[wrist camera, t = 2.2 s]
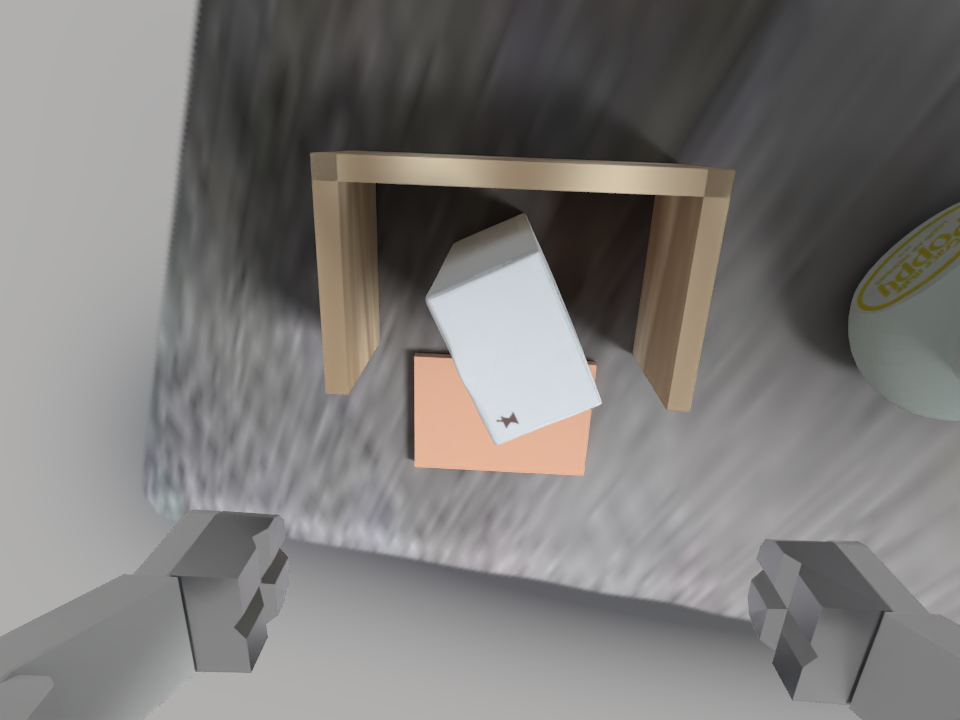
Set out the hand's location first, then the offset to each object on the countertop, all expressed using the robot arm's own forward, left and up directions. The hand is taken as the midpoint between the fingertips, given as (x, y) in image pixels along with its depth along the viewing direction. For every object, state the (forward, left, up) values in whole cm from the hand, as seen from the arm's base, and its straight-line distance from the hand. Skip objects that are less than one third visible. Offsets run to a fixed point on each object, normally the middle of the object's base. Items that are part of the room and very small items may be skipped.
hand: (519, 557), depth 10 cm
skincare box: (0, 0, -22) cm, 22 cm away
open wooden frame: (0, 0, -22) cm, 22 cm away
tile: (0, +8, -22) cm, 23 cm away
